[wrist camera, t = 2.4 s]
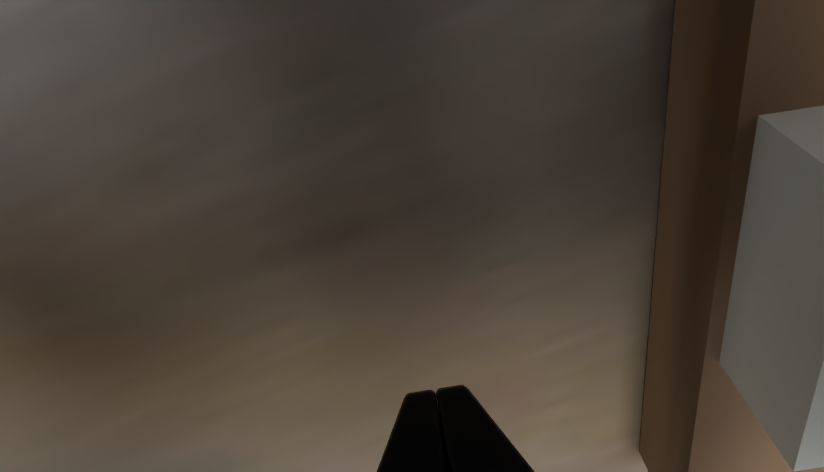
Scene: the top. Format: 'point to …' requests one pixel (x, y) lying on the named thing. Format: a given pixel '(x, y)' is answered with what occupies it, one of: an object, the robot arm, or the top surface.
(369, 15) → the top surface
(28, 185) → the top surface
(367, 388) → the top surface
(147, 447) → the top surface
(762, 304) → the tile
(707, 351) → the flat brown platform
